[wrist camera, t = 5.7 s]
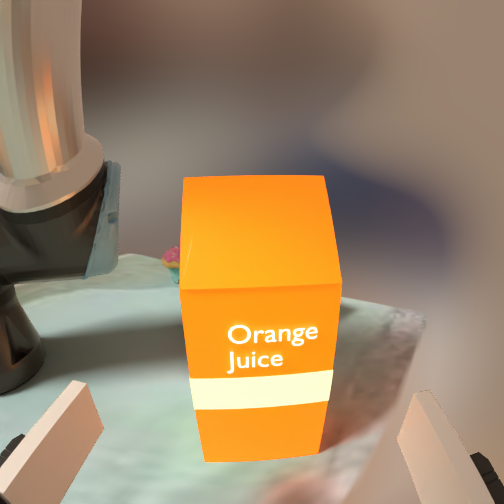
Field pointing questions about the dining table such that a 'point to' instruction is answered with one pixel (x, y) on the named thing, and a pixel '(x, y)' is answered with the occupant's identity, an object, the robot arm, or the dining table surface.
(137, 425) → the dining table surface
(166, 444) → the dining table surface
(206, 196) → the orange juice
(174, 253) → the cupcake
